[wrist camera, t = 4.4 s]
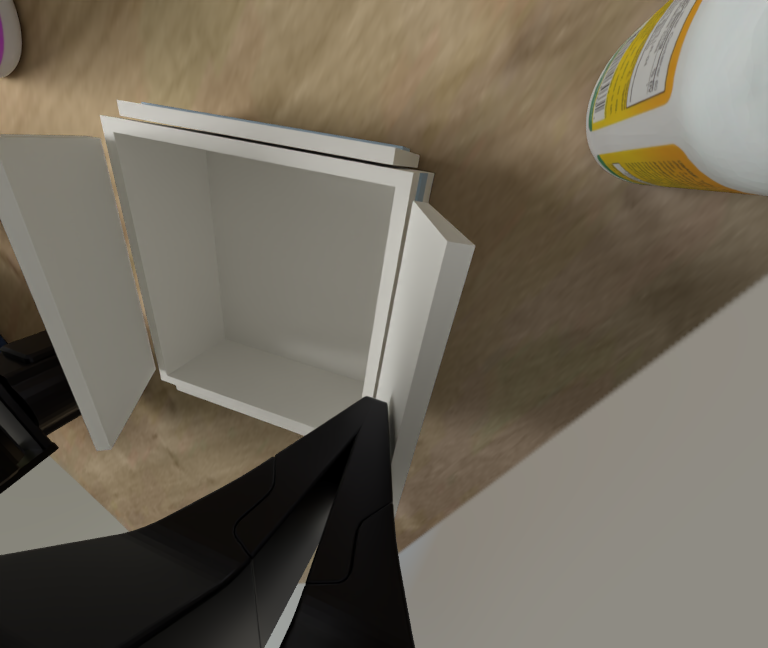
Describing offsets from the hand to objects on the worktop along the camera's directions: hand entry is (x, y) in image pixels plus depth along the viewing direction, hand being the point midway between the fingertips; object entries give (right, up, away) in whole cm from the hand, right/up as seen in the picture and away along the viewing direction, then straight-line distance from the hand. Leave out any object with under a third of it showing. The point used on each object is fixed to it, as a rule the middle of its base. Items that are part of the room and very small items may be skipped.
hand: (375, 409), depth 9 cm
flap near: (0, 0, +1) cm, 1 cm away
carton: (-4, +5, +9) cm, 11 cm away
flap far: (-11, +4, +3) cm, 12 cm away
